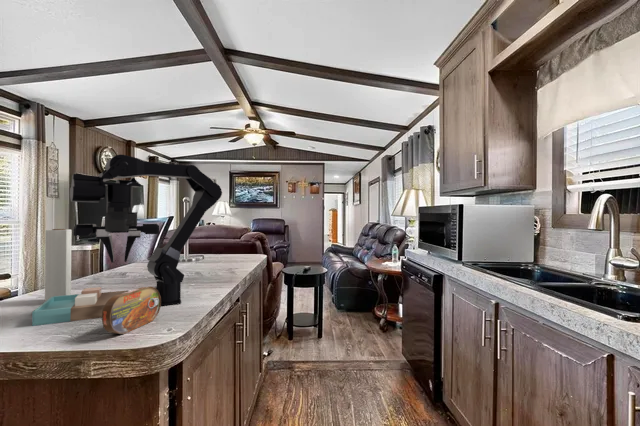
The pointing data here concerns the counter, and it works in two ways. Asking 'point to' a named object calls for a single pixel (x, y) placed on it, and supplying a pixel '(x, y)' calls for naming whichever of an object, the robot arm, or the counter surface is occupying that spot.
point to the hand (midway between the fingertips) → (119, 262)
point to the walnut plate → (92, 307)
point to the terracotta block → (92, 291)
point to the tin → (131, 310)
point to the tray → (54, 310)
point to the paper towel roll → (57, 262)
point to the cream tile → (86, 299)
